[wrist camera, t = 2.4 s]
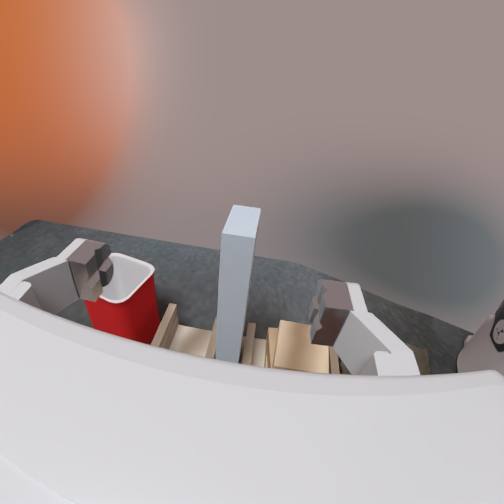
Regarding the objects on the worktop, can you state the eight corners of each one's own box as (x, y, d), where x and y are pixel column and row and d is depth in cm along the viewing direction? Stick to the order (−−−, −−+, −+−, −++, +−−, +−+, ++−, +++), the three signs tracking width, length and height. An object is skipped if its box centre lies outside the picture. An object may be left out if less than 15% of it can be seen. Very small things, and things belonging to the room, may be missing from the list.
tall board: (241, 348, 36) (260, 208, 26) (235, 382, 32) (255, 237, 21) (222, 345, 37) (233, 204, 26) (214, 379, 32) (221, 233, 21)
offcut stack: (315, 349, 38) (327, 320, 34) (318, 400, 31) (333, 374, 27) (264, 343, 38) (270, 313, 35) (258, 394, 31) (266, 368, 28)
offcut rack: (322, 352, 39) (333, 327, 36) (326, 412, 30) (341, 391, 28) (172, 330, 39) (169, 303, 36) (151, 386, 31) (143, 361, 28)
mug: (166, 324, 40) (159, 266, 34) (137, 363, 33) (120, 307, 28) (106, 298, 43) (94, 243, 37) (75, 329, 36) (54, 274, 30)
